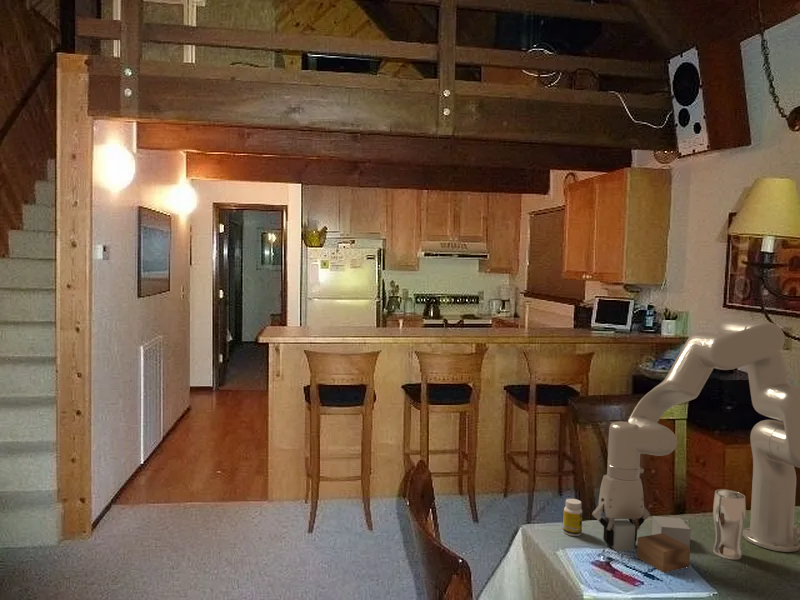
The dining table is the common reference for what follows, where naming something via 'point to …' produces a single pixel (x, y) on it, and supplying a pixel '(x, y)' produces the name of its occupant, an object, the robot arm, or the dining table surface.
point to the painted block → (623, 535)
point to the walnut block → (663, 552)
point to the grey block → (672, 528)
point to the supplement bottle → (572, 518)
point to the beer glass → (728, 523)
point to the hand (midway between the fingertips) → (619, 542)
